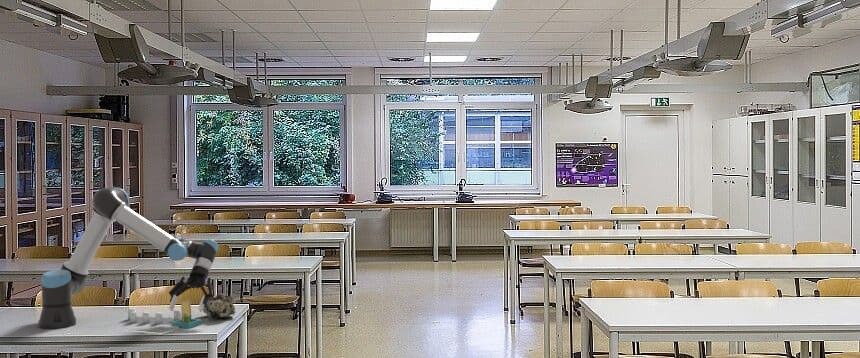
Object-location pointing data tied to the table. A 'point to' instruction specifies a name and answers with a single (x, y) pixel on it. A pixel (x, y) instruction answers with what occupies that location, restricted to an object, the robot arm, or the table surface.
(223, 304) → the mineral specimen
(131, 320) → the board
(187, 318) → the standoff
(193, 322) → the tray
